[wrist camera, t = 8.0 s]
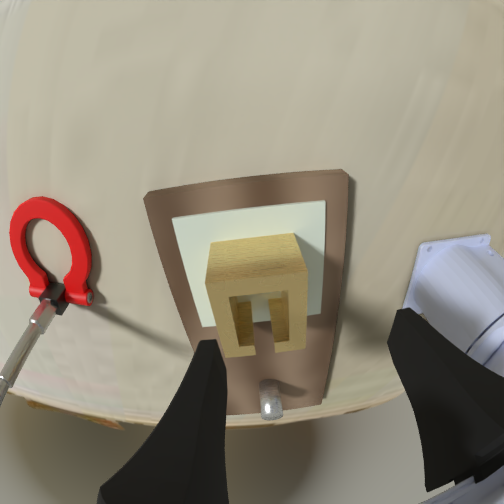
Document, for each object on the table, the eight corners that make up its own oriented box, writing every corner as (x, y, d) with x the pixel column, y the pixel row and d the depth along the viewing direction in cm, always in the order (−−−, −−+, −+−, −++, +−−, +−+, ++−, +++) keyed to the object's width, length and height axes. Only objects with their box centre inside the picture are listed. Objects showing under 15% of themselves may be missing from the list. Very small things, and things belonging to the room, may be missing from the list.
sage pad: (324, 200, 16) (325, 201, 16) (319, 311, 21) (320, 313, 20) (172, 217, 16) (171, 219, 16) (202, 325, 21) (202, 327, 21)
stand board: (341, 169, 16) (348, 174, 15) (319, 396, 30) (321, 404, 29) (148, 191, 16) (143, 198, 15) (222, 407, 30) (222, 415, 29)
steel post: (278, 377, 25) (282, 410, 22) (279, 387, 26) (283, 418, 23) (257, 379, 25) (260, 413, 22) (259, 389, 26) (262, 421, 23)
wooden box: (293, 232, 17) (307, 271, 13) (295, 306, 20) (305, 348, 16) (210, 242, 17) (204, 283, 13) (226, 314, 20) (225, 357, 17)
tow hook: (8, 196, 16) (32, 289, 20) (-99, 283, 4) (-34, 392, 9) (86, 192, 16) (104, 300, 21) (-43, 312, 5) (46, 434, 10)
